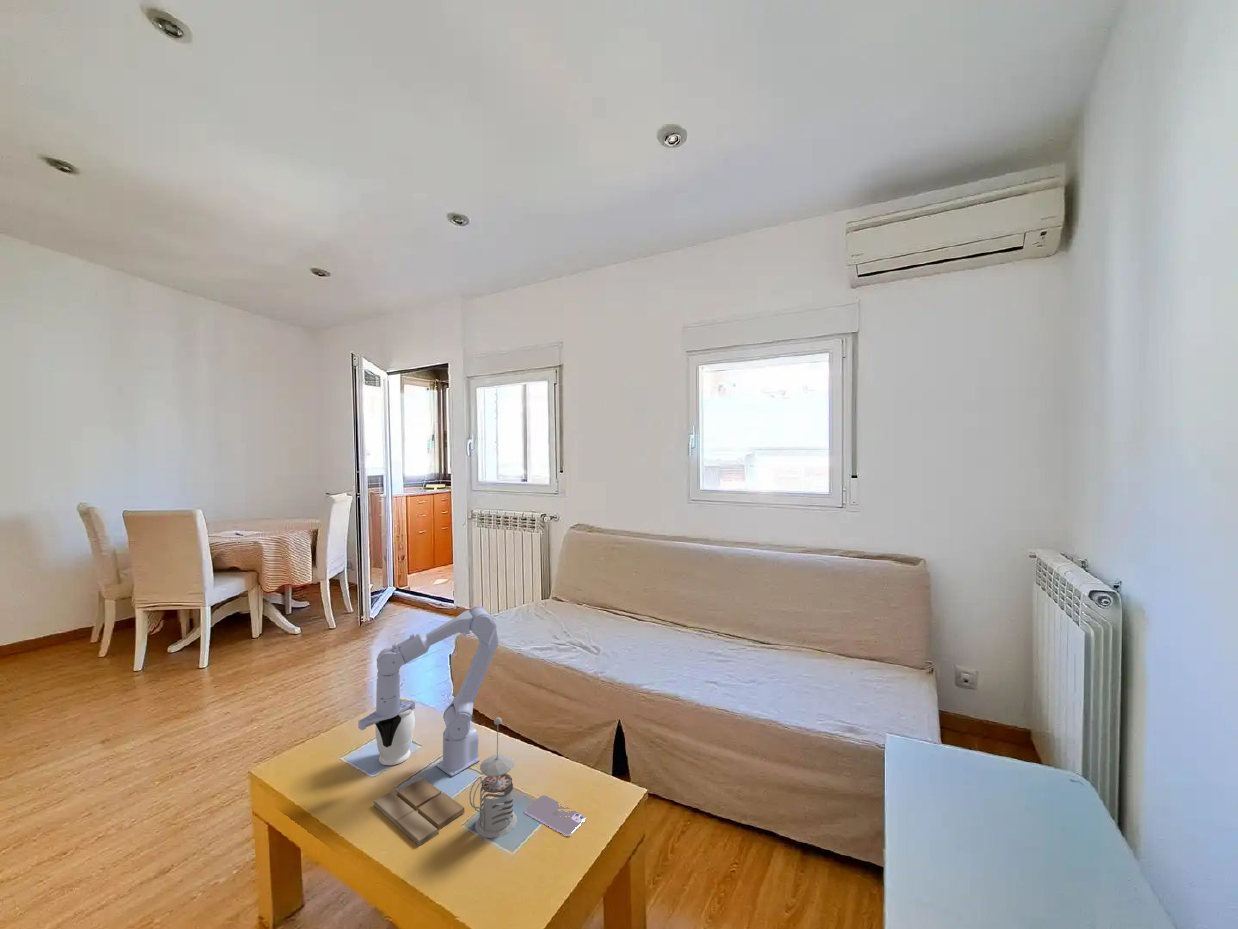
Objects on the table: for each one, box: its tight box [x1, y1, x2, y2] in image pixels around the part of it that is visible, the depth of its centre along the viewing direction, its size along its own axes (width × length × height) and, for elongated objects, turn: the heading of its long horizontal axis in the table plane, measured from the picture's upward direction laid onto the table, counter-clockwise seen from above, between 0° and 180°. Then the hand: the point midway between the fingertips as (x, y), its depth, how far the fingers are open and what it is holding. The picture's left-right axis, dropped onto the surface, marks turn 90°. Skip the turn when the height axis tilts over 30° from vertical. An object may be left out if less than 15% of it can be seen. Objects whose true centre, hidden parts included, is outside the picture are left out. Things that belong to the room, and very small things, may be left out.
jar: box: [375, 697, 416, 766], centre depth 140 cm, size 11×10×15 cm
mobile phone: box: [523, 794, 587, 837], centre depth 118 cm, size 8×1×15 cm
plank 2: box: [417, 792, 465, 831], centre depth 118 cm, size 7×9×1 cm
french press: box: [468, 716, 518, 839], centre depth 115 cm, size 10×12×25 cm
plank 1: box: [396, 777, 442, 812], centre depth 124 cm, size 7×9×1 cm
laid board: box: [373, 791, 440, 847], centre depth 116 cm, size 5×21×1 cm, turn 53°
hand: (387, 745), depth 129 cm, fingers closed
